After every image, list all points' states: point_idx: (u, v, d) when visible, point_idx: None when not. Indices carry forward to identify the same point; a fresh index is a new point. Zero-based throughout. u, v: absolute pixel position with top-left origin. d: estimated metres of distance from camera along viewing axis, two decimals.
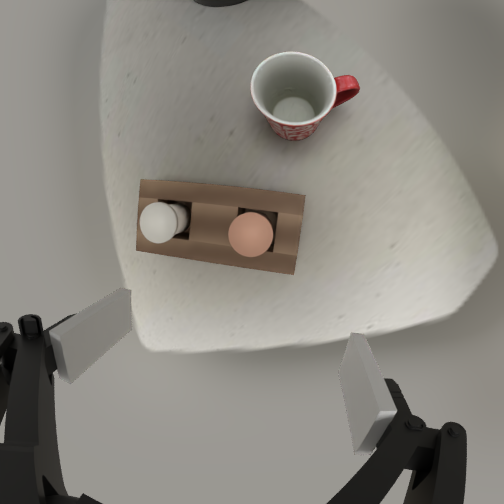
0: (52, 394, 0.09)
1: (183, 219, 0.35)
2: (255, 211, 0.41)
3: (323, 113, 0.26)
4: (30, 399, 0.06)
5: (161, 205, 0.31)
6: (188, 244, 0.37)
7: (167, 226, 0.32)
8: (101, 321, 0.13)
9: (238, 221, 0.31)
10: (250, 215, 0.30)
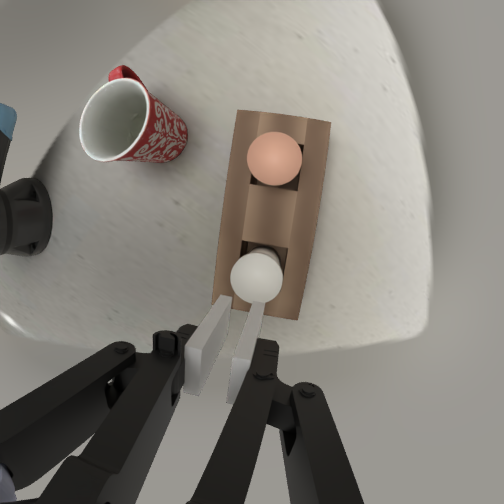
0: (169, 415, 0.10)
1: (260, 250, 0.29)
2: None
3: (139, 86, 0.22)
4: (134, 422, 0.07)
5: (234, 271, 0.26)
6: (293, 249, 0.30)
7: (261, 265, 0.26)
8: (218, 329, 0.14)
9: (257, 171, 0.24)
10: (250, 157, 0.24)
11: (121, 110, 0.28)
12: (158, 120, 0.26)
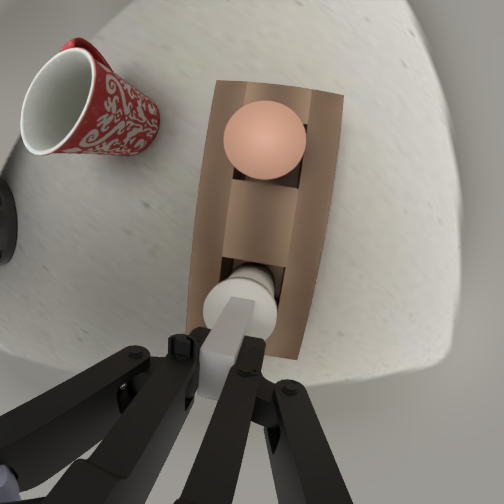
0: (182, 420, 0.10)
1: (247, 271, 0.21)
2: None
3: (86, 55, 0.14)
4: (146, 427, 0.07)
5: (208, 303, 0.18)
6: (293, 268, 0.22)
7: (245, 296, 0.18)
8: None
9: (238, 159, 0.16)
10: (228, 138, 0.16)
11: (76, 92, 0.20)
12: (110, 97, 0.17)
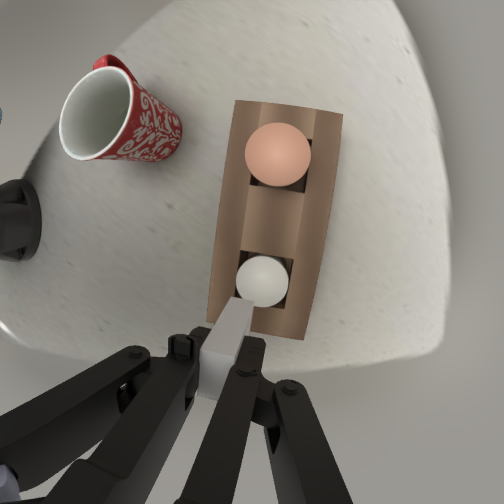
0: (182, 420, 0.10)
1: None
2: None
3: (123, 74, 0.19)
4: (146, 427, 0.07)
5: (240, 274, 0.26)
6: (300, 260, 0.26)
7: (266, 268, 0.26)
8: None
9: (257, 170, 0.20)
10: (248, 152, 0.20)
11: (107, 104, 0.25)
12: (144, 112, 0.22)
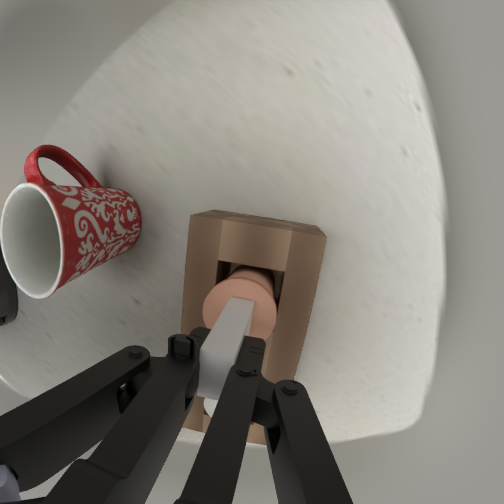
0: (182, 420, 0.10)
1: None
2: None
3: (48, 200, 0.15)
4: (146, 427, 0.07)
5: (207, 400, 0.23)
6: None
7: None
8: None
9: None
10: (206, 313, 0.18)
11: None
12: (84, 240, 0.18)
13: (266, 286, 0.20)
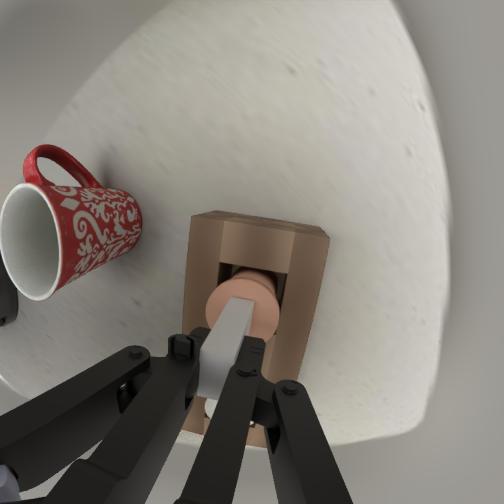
0: (182, 420, 0.10)
1: None
2: None
3: (46, 201, 0.15)
4: (146, 427, 0.07)
5: (208, 403, 0.23)
6: None
7: None
8: None
9: None
10: (209, 313, 0.18)
11: None
12: (83, 241, 0.18)
13: (269, 286, 0.20)
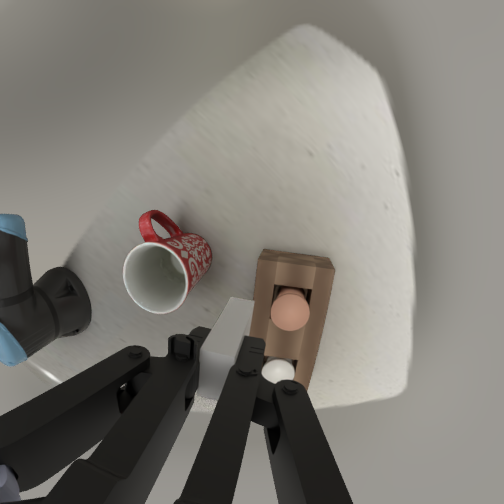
0: (182, 420, 0.10)
1: None
2: None
3: (174, 255, 0.31)
4: (146, 427, 0.07)
5: (264, 369, 0.39)
6: (302, 360, 0.39)
7: (281, 367, 0.38)
8: None
9: (278, 322, 0.35)
10: (272, 312, 0.34)
11: (154, 249, 0.37)
12: (193, 276, 0.35)
13: (302, 296, 0.36)
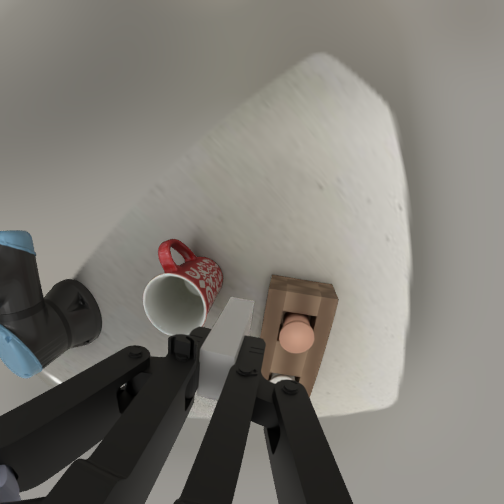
0: (182, 420, 0.10)
1: None
2: None
3: (194, 286, 0.34)
4: (146, 427, 0.07)
5: None
6: (304, 377, 0.42)
7: None
8: None
9: (285, 346, 0.38)
10: (281, 337, 0.37)
11: None
12: (209, 303, 0.37)
13: (307, 322, 0.39)
